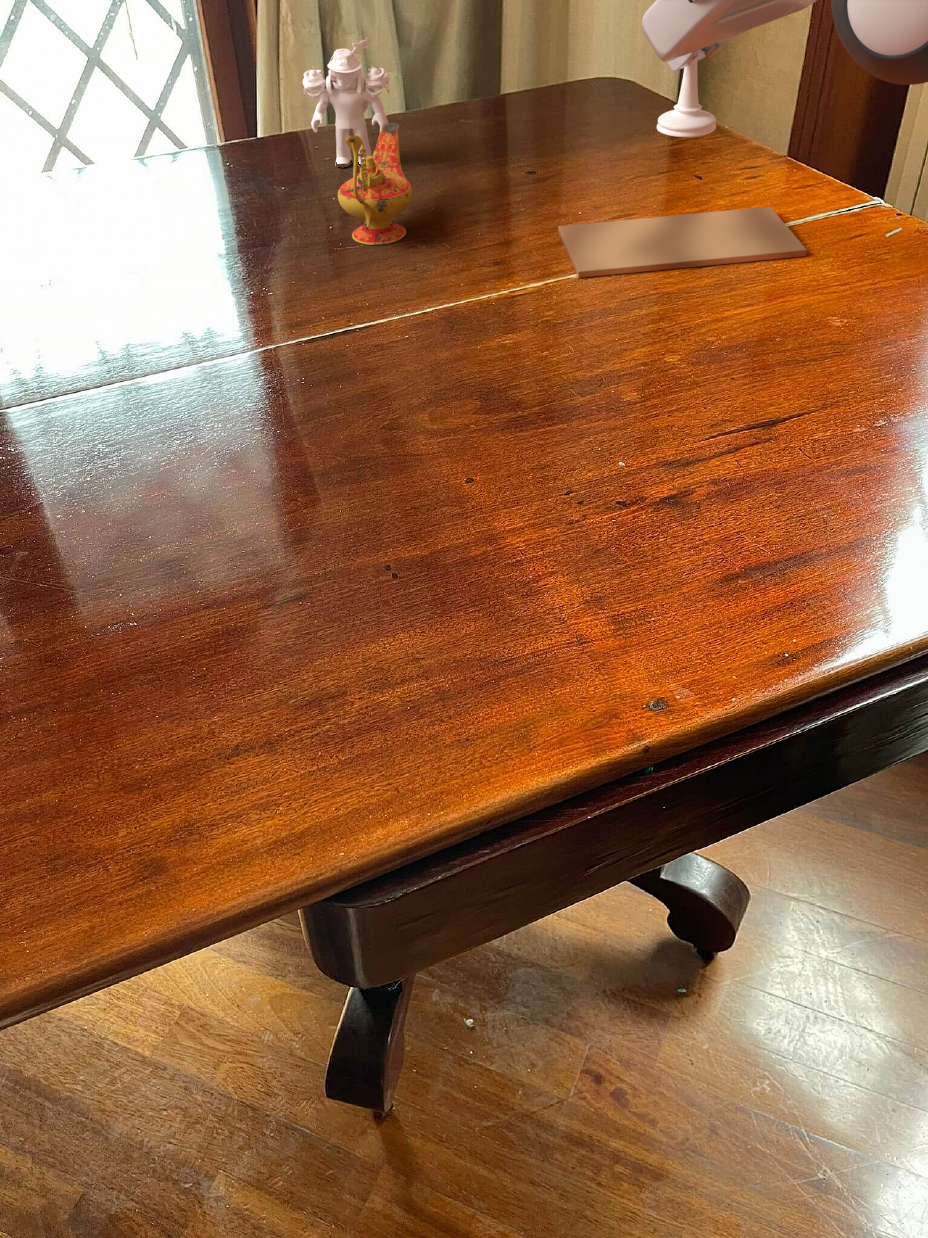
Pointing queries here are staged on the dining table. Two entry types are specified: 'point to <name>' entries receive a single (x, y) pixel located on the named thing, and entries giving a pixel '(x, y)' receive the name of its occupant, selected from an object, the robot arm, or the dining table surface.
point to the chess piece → (688, 109)
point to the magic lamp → (377, 189)
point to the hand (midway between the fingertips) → (685, 56)
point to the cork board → (678, 241)
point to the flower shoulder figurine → (348, 98)
